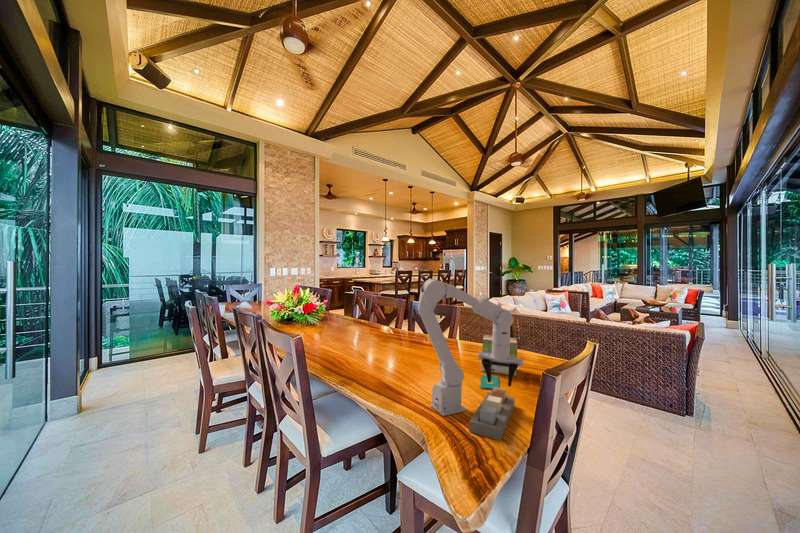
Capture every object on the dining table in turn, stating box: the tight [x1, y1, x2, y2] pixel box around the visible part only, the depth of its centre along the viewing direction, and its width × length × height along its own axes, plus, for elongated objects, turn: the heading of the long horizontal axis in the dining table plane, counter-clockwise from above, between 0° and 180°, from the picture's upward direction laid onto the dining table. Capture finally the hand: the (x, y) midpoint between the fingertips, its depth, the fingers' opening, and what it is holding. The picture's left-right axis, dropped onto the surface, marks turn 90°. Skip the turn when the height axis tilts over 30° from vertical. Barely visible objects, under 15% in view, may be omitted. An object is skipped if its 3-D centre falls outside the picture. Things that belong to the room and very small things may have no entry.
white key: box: [486, 395, 502, 414], centre depth 102 cm, size 4×4×4 cm
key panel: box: [468, 391, 516, 441], centre depth 102 cm, size 24×9×3 cm, turn 152°
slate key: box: [480, 405, 497, 426], centre depth 95 cm, size 4×4×4 cm
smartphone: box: [480, 374, 501, 391], centre depth 131 cm, size 7×1×15 cm
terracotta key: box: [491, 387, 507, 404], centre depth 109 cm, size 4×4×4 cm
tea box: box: [480, 334, 518, 376], centre depth 146 cm, size 15×10×15 cm
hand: (499, 383), depth 109 cm, fingers open, 6 cm apart
